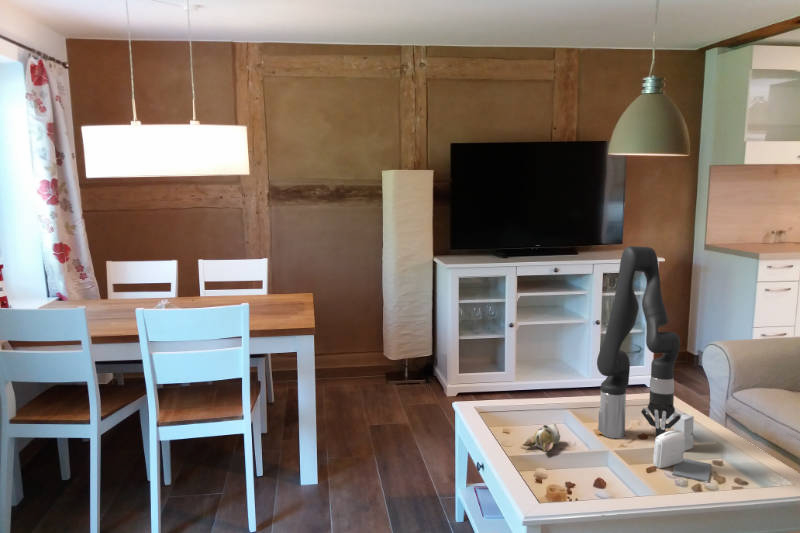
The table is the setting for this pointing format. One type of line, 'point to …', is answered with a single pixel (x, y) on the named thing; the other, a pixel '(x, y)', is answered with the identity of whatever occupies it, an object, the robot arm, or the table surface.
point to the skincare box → (686, 429)
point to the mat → (692, 470)
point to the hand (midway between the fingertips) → (660, 438)
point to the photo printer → (669, 449)
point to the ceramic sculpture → (544, 438)
